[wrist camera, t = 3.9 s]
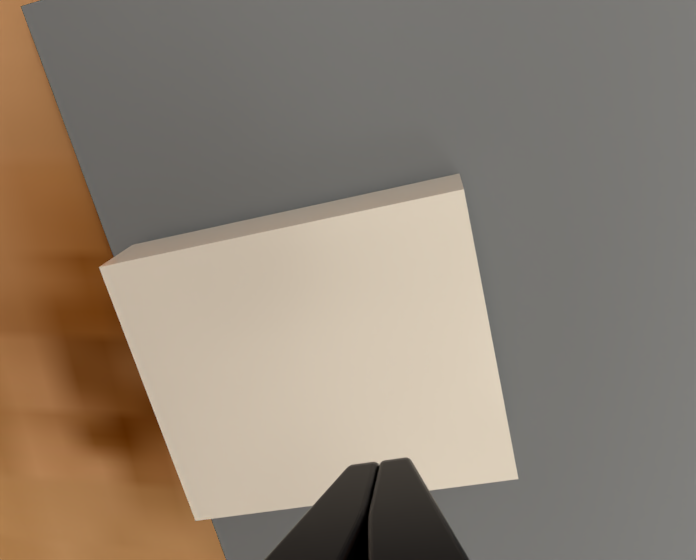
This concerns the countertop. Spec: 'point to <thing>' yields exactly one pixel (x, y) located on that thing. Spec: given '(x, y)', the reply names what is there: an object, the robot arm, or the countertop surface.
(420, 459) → the tile
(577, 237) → the mat
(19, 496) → the countertop surface
